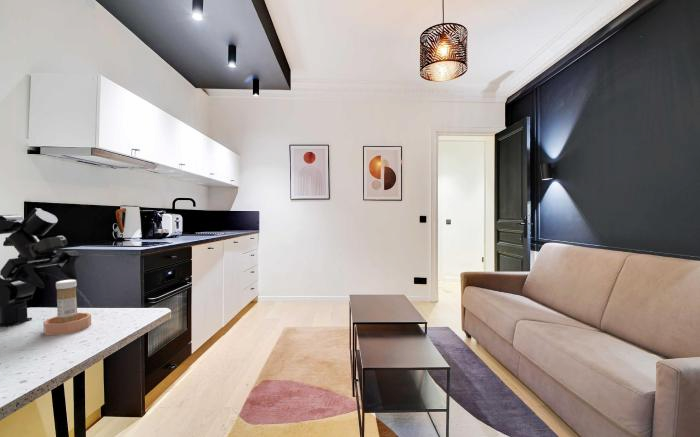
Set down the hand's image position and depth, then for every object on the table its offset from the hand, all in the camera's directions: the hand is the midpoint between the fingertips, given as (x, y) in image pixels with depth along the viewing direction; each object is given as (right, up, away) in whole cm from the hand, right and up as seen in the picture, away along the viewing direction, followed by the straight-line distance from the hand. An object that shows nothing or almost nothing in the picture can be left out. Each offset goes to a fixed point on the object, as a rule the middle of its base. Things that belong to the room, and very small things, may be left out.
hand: (60, 283), depth 99 cm
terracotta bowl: (+4, -13, -2) cm, 14 cm away
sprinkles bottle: (+4, -12, -2) cm, 13 cm away
